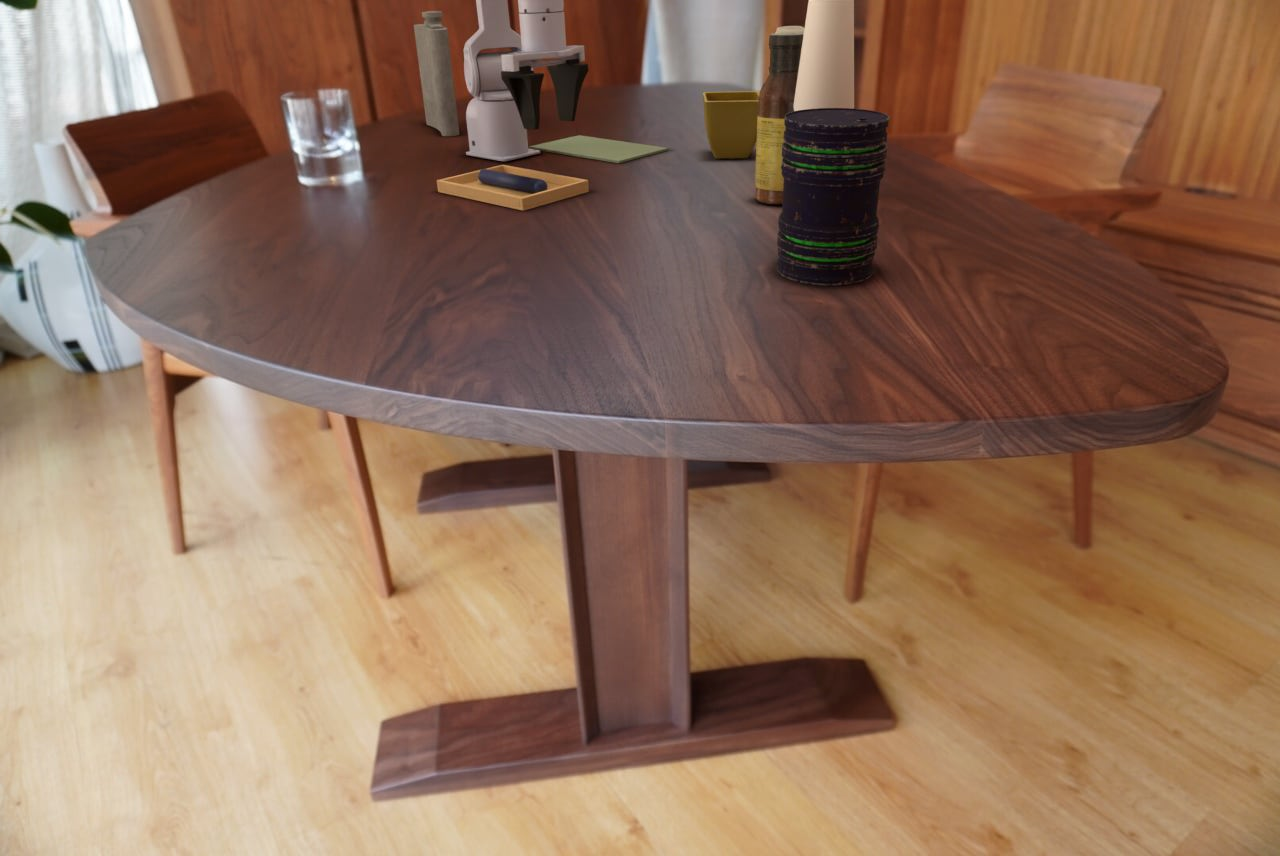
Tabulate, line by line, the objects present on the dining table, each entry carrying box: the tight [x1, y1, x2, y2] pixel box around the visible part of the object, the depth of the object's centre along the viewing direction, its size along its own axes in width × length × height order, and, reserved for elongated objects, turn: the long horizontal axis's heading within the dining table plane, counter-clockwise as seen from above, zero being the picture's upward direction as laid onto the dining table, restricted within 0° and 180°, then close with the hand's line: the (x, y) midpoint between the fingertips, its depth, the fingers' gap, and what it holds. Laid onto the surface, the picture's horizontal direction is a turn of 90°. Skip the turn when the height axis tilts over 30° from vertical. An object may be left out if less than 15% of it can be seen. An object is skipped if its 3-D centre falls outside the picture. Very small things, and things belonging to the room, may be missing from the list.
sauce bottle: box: [754, 32, 803, 206], centre depth 112 cm, size 7×6×20 cm
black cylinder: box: [776, 108, 890, 286], centre depth 88 cm, size 10×10×15 cm
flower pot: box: [702, 90, 760, 160], centre depth 140 cm, size 9×9×9 cm
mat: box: [528, 134, 669, 164], centre depth 149 cm, size 20×12×1 cm, turn 50°
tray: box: [436, 164, 590, 212], centre depth 124 cm, size 17×12×2 cm
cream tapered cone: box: [793, 0, 855, 111], centre depth 102 cm, size 7×7×24 cm
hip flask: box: [413, 10, 460, 137], centre depth 164 cm, size 16×4×20 cm, turn 24°
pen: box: [478, 168, 548, 194], centre depth 124 cm, size 13×2×2 cm, turn 50°
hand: (549, 124), depth 121 cm, fingers open, 7 cm apart
